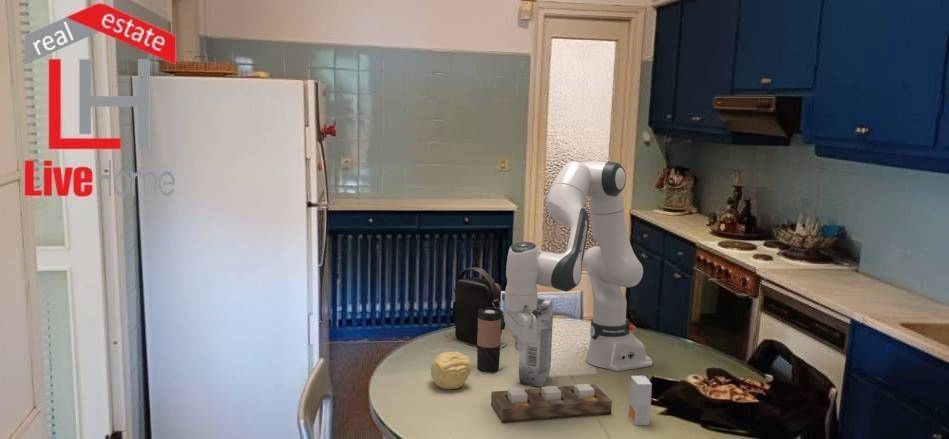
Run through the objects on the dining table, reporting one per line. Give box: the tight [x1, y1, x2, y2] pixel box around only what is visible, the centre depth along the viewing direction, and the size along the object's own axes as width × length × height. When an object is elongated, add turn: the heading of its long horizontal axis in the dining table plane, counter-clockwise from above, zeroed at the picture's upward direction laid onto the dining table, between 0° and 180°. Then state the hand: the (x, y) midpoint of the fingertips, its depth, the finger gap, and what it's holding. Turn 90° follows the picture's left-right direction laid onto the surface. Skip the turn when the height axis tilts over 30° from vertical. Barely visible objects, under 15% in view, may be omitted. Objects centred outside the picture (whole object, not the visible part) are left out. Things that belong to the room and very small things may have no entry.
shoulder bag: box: [446, 266, 507, 349], centre depth 248 cm, size 23×9×28 cm, turn 51°
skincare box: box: [628, 375, 653, 426], centre depth 188 cm, size 6×4×12 cm
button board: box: [490, 383, 613, 424], centre depth 194 cm, size 32×12×4 cm, turn 103°
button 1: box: [507, 387, 528, 404], centre depth 192 cm, size 4×4×3 cm
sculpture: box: [430, 350, 472, 390], centre depth 209 cm, size 12×12×11 cm
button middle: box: [540, 385, 561, 401], centre depth 194 cm, size 4×4×3 cm
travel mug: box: [476, 307, 502, 374], centre depth 222 cm, size 8×8×20 cm
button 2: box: [573, 383, 594, 399], centre depth 196 cm, size 4×4×3 cm
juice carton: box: [518, 298, 554, 388], centre depth 213 cm, size 9×10×27 cm
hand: (518, 349), depth 189 cm, fingers closed
